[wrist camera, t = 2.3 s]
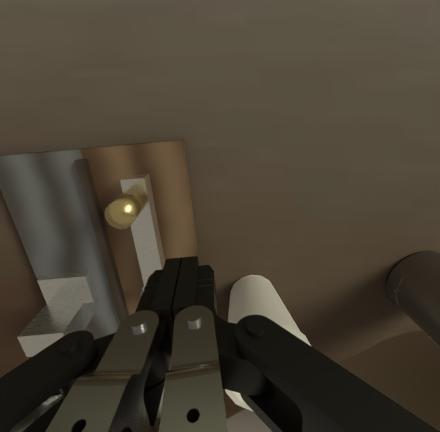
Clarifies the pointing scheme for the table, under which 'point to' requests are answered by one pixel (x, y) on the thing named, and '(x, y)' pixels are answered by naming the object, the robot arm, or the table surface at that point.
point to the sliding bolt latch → (97, 216)
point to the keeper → (60, 310)
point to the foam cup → (258, 311)
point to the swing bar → (139, 222)
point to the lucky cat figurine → (36, 413)
